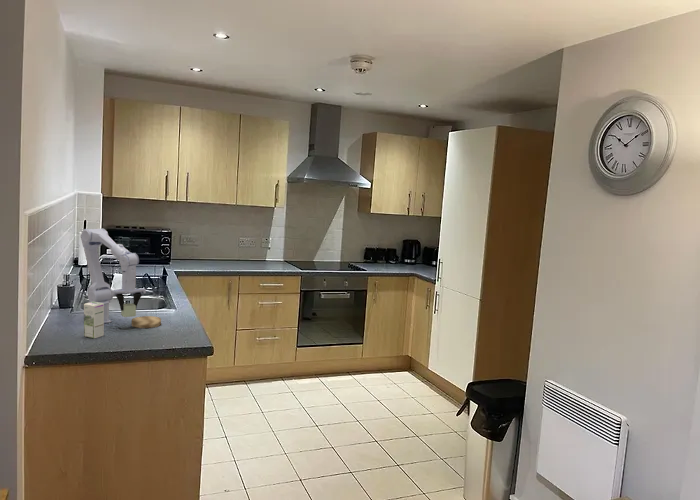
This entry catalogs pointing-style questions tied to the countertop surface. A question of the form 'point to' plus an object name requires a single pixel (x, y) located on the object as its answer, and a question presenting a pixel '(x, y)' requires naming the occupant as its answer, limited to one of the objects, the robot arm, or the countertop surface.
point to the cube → (129, 310)
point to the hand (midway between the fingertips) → (128, 309)
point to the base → (146, 322)
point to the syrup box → (93, 319)
